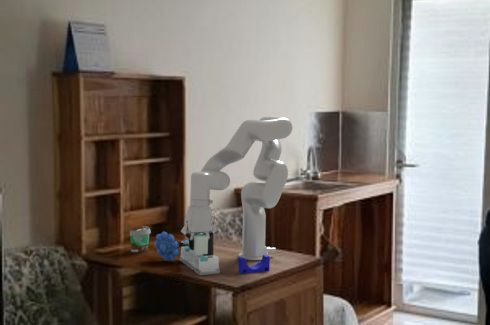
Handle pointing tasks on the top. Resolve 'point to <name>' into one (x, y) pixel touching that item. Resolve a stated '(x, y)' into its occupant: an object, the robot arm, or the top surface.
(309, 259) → the top surface
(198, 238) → the block
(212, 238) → the bottle
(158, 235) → the grapes
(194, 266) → the rail
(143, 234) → the food container
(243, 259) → the blue mounting bracket
